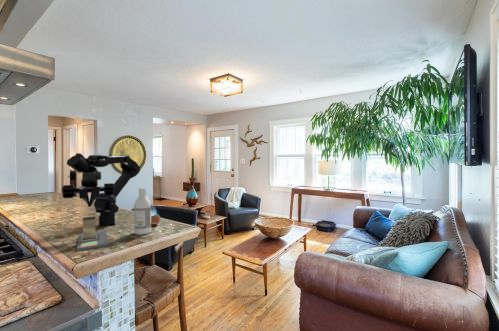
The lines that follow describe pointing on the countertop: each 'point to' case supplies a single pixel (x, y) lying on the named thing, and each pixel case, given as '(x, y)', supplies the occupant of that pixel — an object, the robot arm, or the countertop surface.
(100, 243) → the base
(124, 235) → the countertop surface
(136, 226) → the bath foam
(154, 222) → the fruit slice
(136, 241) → the countertop surface
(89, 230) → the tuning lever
